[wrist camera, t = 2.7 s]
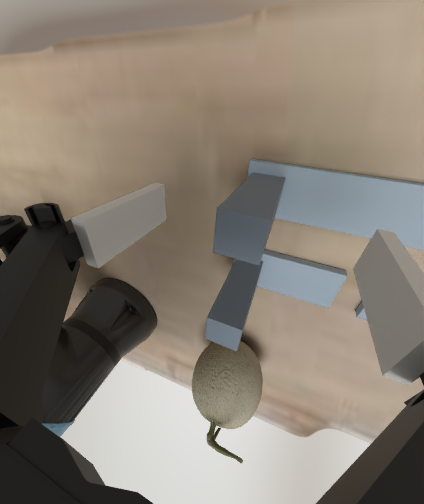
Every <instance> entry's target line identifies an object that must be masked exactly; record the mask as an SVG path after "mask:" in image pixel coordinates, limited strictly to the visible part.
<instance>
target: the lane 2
mask: <svg viewBox="0 0 424 504" xmlns="http://www.w3.org/2000/svg"><path fill="white" fill-rule="evenodd" d="M346 278H347V273H346V270H342V269H338V268H334V267H330V266H327V265H323V264H319V263H315V262H311V261H307V260H303V259H299V258H296V257H292V256H288V255H284V254H280V253H276V252H272V251H269V250H265V249H264V252H263V255H262V258H261V261H260V264H259V265H256V264H252V263H249V262H245V261H242V260H238V259H234V260H233V266H232V269H231V271H230V273H229V275H228V277H227V279H226V281H225V283H224V284H223V286H222V288H221V290H220V292H219V294H218V296H217V298H216V300H215V302H214V304H213V306H212V308H211V310H210V312H209V314H208V316H207V322H206V333H205V339H207V340H210V341H212V342H215V343H217V344H220V345H222V346H224V347H227V348H229V349H232V350H234V351H237V350H238V346H239V343H240V339H241V336H242V333H243V329H244V326H245V323H246V319H247V316H248V313H249V309H250V306H251V303H252V299H253V296H254V293H255V289H256V286H257V287H260V288H264V289H267V290H270V291H273V292H277V293H280V294H283V295H286V296H290V297H293V298H296V299H299V300H303V301H306V302H309V303H312V304H316V305H319V306H322V307H325V308H329V306H330V305H331V303H332V301H333V300H334V298H335V296H336V295H337V293H338V291H339V290H340V288H341V286H342V284H343V283H344V281H345V279H346Z"/></svg>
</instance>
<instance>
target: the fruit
mask: <svg viewBox="0 0 424 504" xmlns="http://www.w3.org/2000/svg"><path fill="white" fill-rule="evenodd" d="M262 382H263V380H262V372H261V367H260V363H259V361H258V359H257V357H256V355H255V353H254V352H253V351H252V350H251V348H250V347H249V346H248V345H246V344H245V343H244V342H242V341H240V343H239V346H238V350H237V351H234V350H232V349H229V348H227V347H224V346H222V345H220V344H217V343H215V342H212V343H211V344H210V345H208V346H207V347H206V348H205V349H204V351H203V352H202V353H201V355H200V356H199V358H198V361H197V363H196V366H195V369H194V373H193V379H192V393H193V398H194V401H195V404H196V406H197V408H198V409H199V411H200V413H201V414H202V415H203V417H204V418H205V419H207V420H208V421H210V422H211V427H210V430H209V432H208V434H207V442H208V444H209V445H210V446H211V447H213V448H214V449H215V450H216V451H217V452H219V453H222V454H223V455H226V456H229V457H231V458H234V459H236V460H237V461H239V462H240V463H242V462H243V460H242V459H241V458H240V457H238V456H236V455H234V454H233V453H231V452H229V451H228V450H226V449H225V448H223V447H221V446H219V445H218V444H217V442H216V441H215V439H216V437H217V435H218V433H219V431H220V429H221V428H218V429H217V431H216V432H215V434H214V430H215V427H216V425H217V426H219V427H222V428H226V429H235V428H238V427H241V426H243V425H244V424H245V423H247V422H248V421H249V420H250V419H251V417H252V416H253V414H254V413H255V411H256V409H257V407H258V405H259V402H260V398H261V393H262Z"/></svg>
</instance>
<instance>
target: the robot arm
mask: <svg viewBox="0 0 424 504" xmlns="http://www.w3.org/2000/svg"><path fill="white" fill-rule="evenodd" d="M24 210H25V212H26V214H27V216H28V218H29V220H30V222H31V224H32V226H28V225H26V224H25V222H24V220H23V218H22V217H21V216H16V215H11V216H10V215H5V216H0V248H1V249H2V251H3V252H4V254H5V255H6V257H7V258H6V259H5V261H4V262H2V261H1V259H0V504H153V503H152V502H150V501H149V500H148V499H146V498H145V497H143V496H142V495H141V494H139V493H138V492H133V491H129V490H124V489H119V488H114V487H109V486H105V484H104V482H103V481H102V479H101V477H100V476H99V474H98V473H97V471H96V469H95V467H94V466H93V464H92V463H90V462H89V461H88V460H87V459H86V458H84V457H83V456H82V455H81V454H80V453H79V452H77V451H76V450H75V449H74V448H72V447H71V446H70V445H69V444H68V443H67V442H66V441H64V440H63V439H62V438H60V436H61V435H62V434H63V433H64V432H65V431H66V429H67V428H68V427H69V426H70V425H72V424H73V422H74V421H75V418H76V417H77V415H78V414H79V413H80V411H81V410H82V409H83V407H84V406H85V405H86V404H87V402H88V401H89V400H90V398H91V397H92V396H93V394H94V393H95V392H96V391H97V389H98V388H99V387H100V385H101V384H102V383H103V381H104V380H105V379H106V377H107V376H108V375H109V374H110V372H111V371H112V370H113V368H114V367H115V366H116V364H117V363H118V362H119V361H120V359H121V358H122V357H123V356H124V355H126V354H127V353H128V352H130V351H131V350H132V349H134V348H135V347H136V346H138V345H139V344H140V343H142V342H143V341H144V340H146V339H147V338H148V337H149V336H150V335H151V333H152V332H153V331H154V329H155V328H156V325H157V318H156V315H155V312H154V310H153V309H152V307H151V305H150V304H149V303H148V301H147V300H146V299H145V298H144V297H143V296H142V295H141V294H140V293H139V292H138V291H136V290H135V289H134V288H132V287H131V286H129V285H128V284H126V283H124V282H122V281H119V280H116V279H111V278H105V279H102V280H100V281H99V282H97V283H96V284H95V285H93V286H92V287H91V288H90V289H89V291H88V292H87V295H86V296H85V297H84V299H83V300H82V301H81V303H80V304H79V305H78V307H77V308H76V310H75V311H74V313H73V314H72V315H71V316H70V317H69V318H68V319H67V320H66V321H65V322H63V321H64V318H65V314H66V311H67V308H68V304H69V301H70V298H71V294H72V291H73V288H74V284H75V281H76V277H77V274H78V271H79V267H80V261H79V258H81V257H82V256H84V257H85V260H86V263H87V265H90V266H92V267H95V268H100V267H101V266H103V265H104V264H105V263H107V262H108V261H110V260H111V259H112V258H114V257H115V256H117V255H118V254H120V253H121V252H122V251H124V250H125V249H127V248H128V247H129V246H131V245H132V244H134V243H135V242H136V241H138V240H139V239H141V238H142V237H143V236H145V235H146V234H148V233H149V232H151V231H152V230H153V229H155V228H156V227H158V226H159V225H160V224H162V223H163V222H165V221H166V220H167V219H166V203H165V187H164V184H159V183H153V184H151V185H148V186H146V187H144V188H141V189H139V190H137V191H134V192H132V193H129V194H127V195H125V196H122V197H120V198H117V199H115V200H113V201H110V202H108V203H105V204H103V205H101V206H98V207H96V208H93V209H91V210H89V211H86V212H84V213H82V214H79V215H77V216H74V217H72V218H71V220H69V221H67V222H65V221H64V219H63V216H62V213H61V211H60V208H59V206H58V205H57V204H54V203H40V204H35V205H32V206H29V207H27V208H25V209H24ZM353 270H354V274H355V277H356V281H357V285H358V288H359V292H360V295H361V299H362V303H363V306H364V310H365V314H366V317H367V321H368V324H369V328H370V332H371V335H372V339H373V342H374V346H375V350H376V353H377V357H378V361H379V364H380V368H381V371H382V375H383V376H385V377H388V378H390V379H393V380H396V381H398V382H401V383H403V384H406V385H409V384H411V383H412V382H413V381H415V380H416V379H418V378H419V377H420V378H421V380H422V383H423V385H424V273H423V272H422V270H421V269H420V268H419V266H418V265H417V263H416V262H415V261H414V259H413V258H412V257H411V255H410V254H409V252H408V251H407V250H406V248H405V247H404V245H403V244H402V243H401V241H400V240H399V238H398V237H397V236H396V234H395V233H394V232H390V231H385V230H380V229H377V230H376V232H375V233H374V235H373V237H372V238H371V240H370V242H369V243H368V245H367V247H366V248H365V250H364V252H363V253H362V255H361V257H360V258H359V260H358V262H357V263H356V265H355V267H354V268H353ZM404 403H405V404H406V405H407V406H406V407H405V408H404V409H403V410H402V411H401V412H400V413H399V415H398V416H397V417H396V418H395V419H394V420H393V421H392V422H391V423H390V424H389V425H388V426H387V427H386V429H385V430H384V431H383V432H382V433H381V434H380V435H379V436H378V437H377V438H376V439H375V440H374V441H373V443H372V444H371V445H370V446H369V447H368V448H367V449H366V450H365V451H364V452H363V453H362V454H361V455H360V457H359V458H358V459H357V460H356V461H355V462H354V463H353V464H352V465H351V466H350V467H349V468H348V470H347V471H346V472H345V473H344V474H343V475H342V476H341V477H340V478H339V479H338V481H336V483H335V484H334V485H333V486H332V487H331V488H330V489H329V490H328V491H327V492H326V493H325V495H323V497H322V498H321V499H320V500H319V501H318V502H317V503H316V504H424V390H423V391H421V392H419V393H418V394H416V395H415V396H413V397H412V398H410V399H409V400H407V401H406V402H404Z"/></svg>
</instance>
